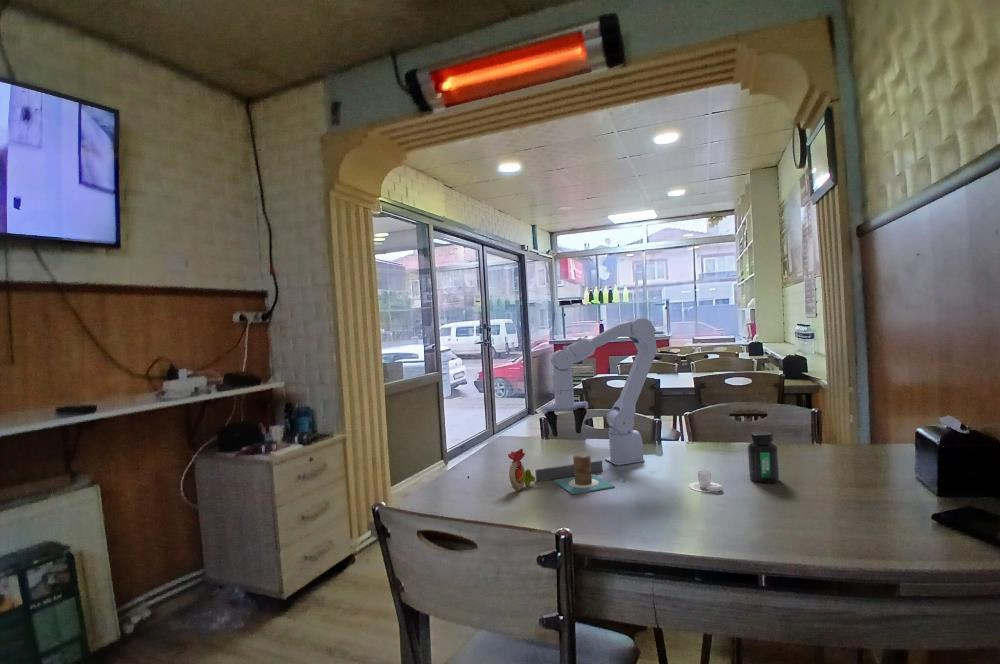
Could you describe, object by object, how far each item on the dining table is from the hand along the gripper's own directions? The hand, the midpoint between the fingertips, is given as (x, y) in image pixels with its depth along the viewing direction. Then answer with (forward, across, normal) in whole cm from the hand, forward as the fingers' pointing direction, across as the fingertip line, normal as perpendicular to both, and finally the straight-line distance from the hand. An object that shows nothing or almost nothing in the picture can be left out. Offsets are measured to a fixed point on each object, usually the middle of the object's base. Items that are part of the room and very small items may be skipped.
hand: (566, 434), depth 157 cm
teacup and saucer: (+10, -19, +36) cm, 42 cm away
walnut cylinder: (+9, +4, +19) cm, 21 cm away
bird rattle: (+10, +20, +14) cm, 26 cm away
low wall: (+9, +4, +10) cm, 14 cm away
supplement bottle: (+10, -38, +37) cm, 54 cm away
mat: (+9, +4, +19) cm, 22 cm away
